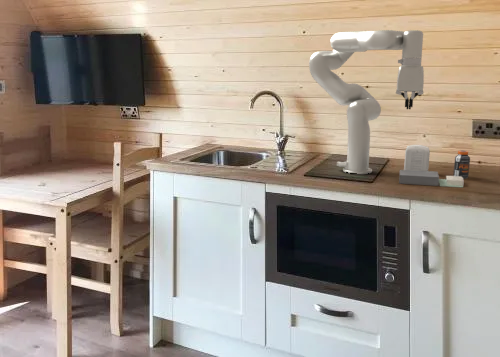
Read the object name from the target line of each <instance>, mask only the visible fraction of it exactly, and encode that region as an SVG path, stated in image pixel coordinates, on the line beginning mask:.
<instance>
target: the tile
mask: <svg viewBox="0 0 500 357" xmlns="http://www.w3.org/2000/svg"><path fill="white" fill-rule="evenodd" d="M445 179H446V183H447V185H458V186H463V187H464V182H465V180H464V179H463V178H462V177H460V176H453V175H445Z"/></svg>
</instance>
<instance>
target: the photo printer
mask: <svg viewBox="0 0 500 357" xmlns="http://www.w3.org/2000/svg"><path fill="white" fill-rule="evenodd" d="M404 152H405V153H404V167H403V170H416V171H429V166H430V155H431V154H430V152H431V150H430V147H429V146H427V145H423V144H410V145H409V144H408V145H407V146H406V149H405V151H404Z"/></svg>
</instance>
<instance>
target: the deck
mask: <svg viewBox="0 0 500 357" xmlns="http://www.w3.org/2000/svg"><path fill="white" fill-rule="evenodd" d="M439 179H440V175H439V172H438V171H432V170H428V171H416V170H404V169H399V177H398V184H399V185H400V184H403V185H417V186H418V185H419V186H436V187H437V186H440V185H439Z"/></svg>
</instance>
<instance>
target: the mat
mask: <svg viewBox="0 0 500 357" xmlns="http://www.w3.org/2000/svg"><path fill="white" fill-rule="evenodd" d="M438 186H439V187H445V188H446V187H448V188H449V187H450V188H464V185H463V186H458V185H447V183H446V178H444V179H443V178H439V185H438Z"/></svg>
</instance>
